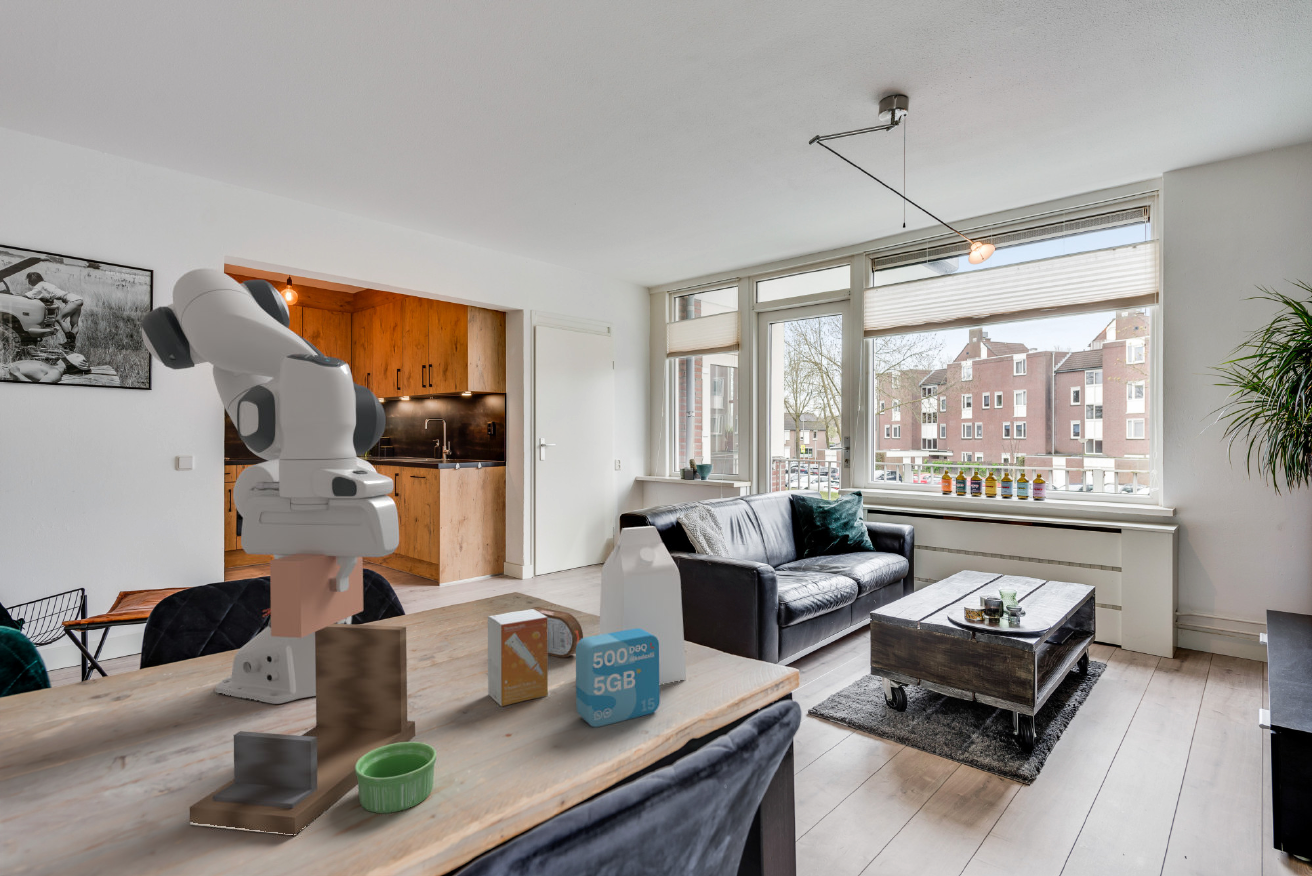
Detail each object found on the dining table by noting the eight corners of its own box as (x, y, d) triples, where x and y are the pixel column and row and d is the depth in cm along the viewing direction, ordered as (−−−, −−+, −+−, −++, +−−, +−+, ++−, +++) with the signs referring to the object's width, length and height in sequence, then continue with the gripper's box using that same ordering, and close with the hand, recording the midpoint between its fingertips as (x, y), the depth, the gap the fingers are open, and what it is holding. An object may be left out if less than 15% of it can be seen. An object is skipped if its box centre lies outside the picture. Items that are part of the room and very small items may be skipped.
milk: (657, 659, 125) (655, 521, 125) (686, 680, 114) (684, 529, 114) (597, 670, 120) (595, 526, 120) (621, 692, 109) (619, 534, 109)
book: (271, 636, 79) (270, 560, 79) (336, 609, 91) (335, 543, 91) (301, 637, 78) (300, 561, 78) (363, 610, 90) (362, 544, 90)
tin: (584, 657, 127) (584, 613, 127) (574, 662, 124) (573, 617, 124) (526, 645, 135) (525, 603, 135) (515, 649, 132) (514, 607, 132)
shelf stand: (189, 825, 73) (187, 679, 73) (332, 729, 96) (331, 619, 96) (295, 836, 71) (293, 686, 70) (415, 735, 94) (413, 622, 94)
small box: (501, 707, 104) (500, 624, 103) (487, 694, 109) (486, 615, 109) (549, 696, 108) (548, 616, 108) (533, 684, 113) (532, 607, 113)
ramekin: (446, 775, 83) (445, 740, 83) (422, 816, 74) (422, 777, 74) (373, 776, 83) (373, 741, 83) (341, 818, 74) (341, 779, 74)
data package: (588, 730, 95) (587, 646, 95) (575, 718, 99) (574, 638, 99) (660, 712, 101) (659, 633, 101) (646, 702, 105) (645, 626, 105)
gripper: (227, 483, 83) (228, 593, 83) (376, 483, 79) (377, 599, 80) (265, 479, 89) (266, 582, 89) (405, 480, 86) (406, 587, 86)
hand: (320, 590), depth 84 cm, fingers closed on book, 4 cm apart
